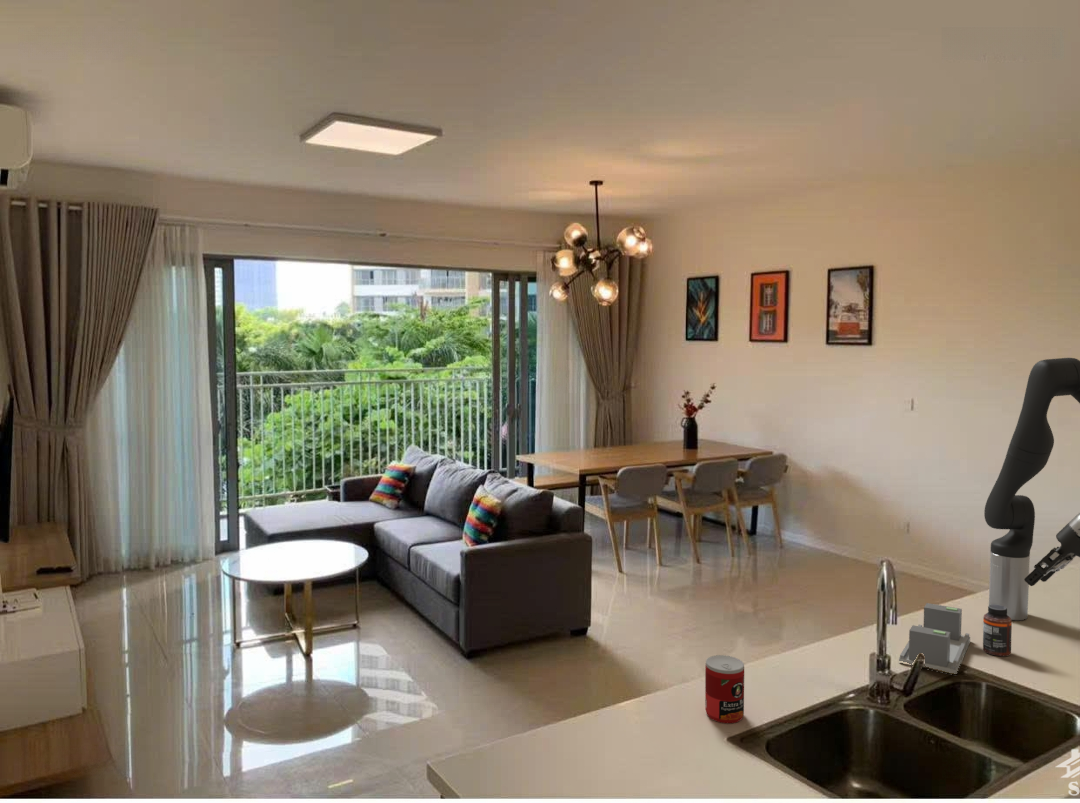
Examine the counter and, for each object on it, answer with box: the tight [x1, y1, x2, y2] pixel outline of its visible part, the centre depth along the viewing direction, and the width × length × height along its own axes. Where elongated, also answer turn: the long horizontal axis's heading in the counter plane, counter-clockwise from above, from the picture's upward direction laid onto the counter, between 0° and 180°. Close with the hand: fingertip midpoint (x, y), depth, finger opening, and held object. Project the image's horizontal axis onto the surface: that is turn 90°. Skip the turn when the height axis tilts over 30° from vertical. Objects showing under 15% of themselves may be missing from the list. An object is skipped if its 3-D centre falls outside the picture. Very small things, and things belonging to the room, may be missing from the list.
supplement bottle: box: [982, 604, 1013, 657], centre depth 189 cm, size 6×6×11 cm
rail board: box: [898, 602, 971, 674], centre depth 189 cm, size 24×12×8 cm, turn 145°
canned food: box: [704, 654, 745, 724], centre depth 159 cm, size 8×8×11 cm
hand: (1034, 581), depth 184 cm, fingers open, 8 cm apart
